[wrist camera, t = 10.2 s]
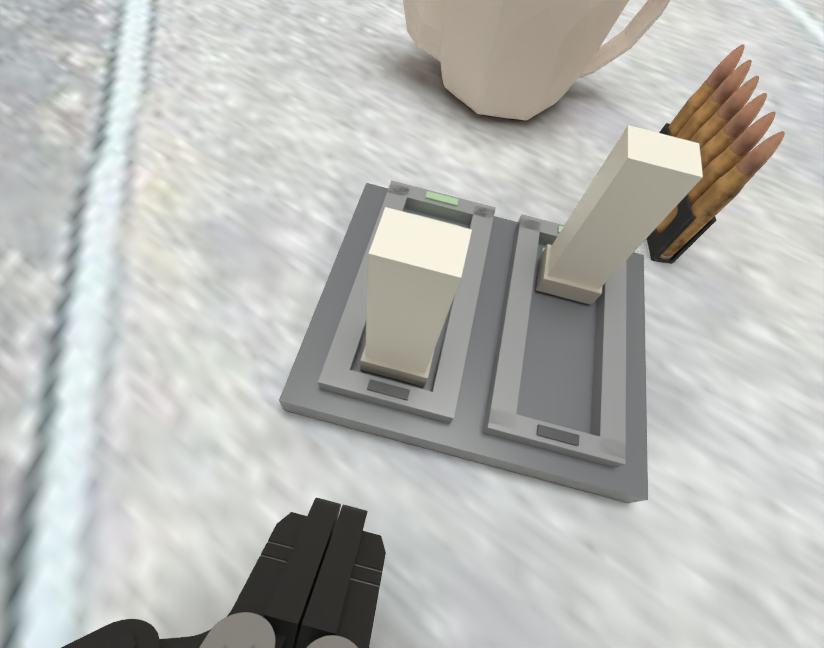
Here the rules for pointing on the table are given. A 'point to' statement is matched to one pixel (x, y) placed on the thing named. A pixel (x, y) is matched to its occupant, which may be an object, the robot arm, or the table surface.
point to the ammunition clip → (715, 153)
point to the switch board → (491, 357)
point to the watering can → (521, 47)
